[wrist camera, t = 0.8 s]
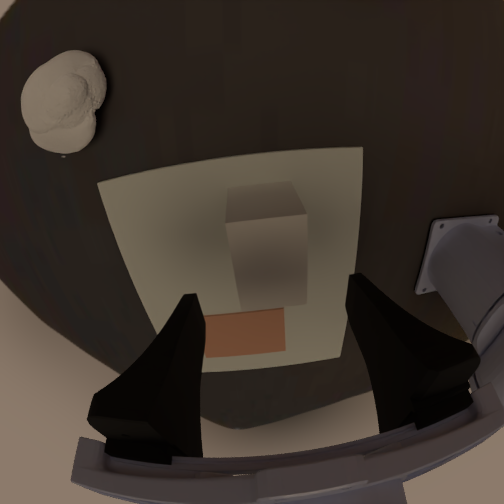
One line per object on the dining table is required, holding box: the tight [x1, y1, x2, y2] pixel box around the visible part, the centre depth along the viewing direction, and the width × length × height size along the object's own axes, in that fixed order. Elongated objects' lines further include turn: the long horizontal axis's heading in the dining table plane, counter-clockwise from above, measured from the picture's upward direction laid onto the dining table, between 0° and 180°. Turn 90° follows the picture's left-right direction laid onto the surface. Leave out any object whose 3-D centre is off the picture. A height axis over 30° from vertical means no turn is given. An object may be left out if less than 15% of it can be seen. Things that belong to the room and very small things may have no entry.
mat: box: [97, 147, 363, 372], centre depth 23 cm, size 18×22×1 cm
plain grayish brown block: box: [225, 181, 308, 312], centre depth 17 cm, size 4×6×5 cm, turn 6°
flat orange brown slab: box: [204, 307, 286, 358], centre depth 25 cm, size 8×6×1 cm
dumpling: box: [21, 50, 107, 158], centre depth 12 cm, size 7×5×4 cm
